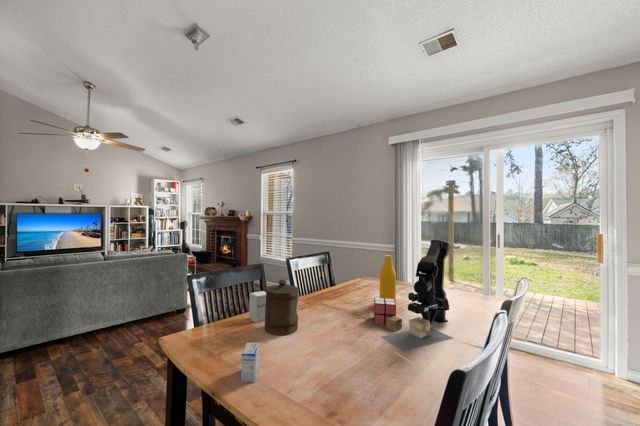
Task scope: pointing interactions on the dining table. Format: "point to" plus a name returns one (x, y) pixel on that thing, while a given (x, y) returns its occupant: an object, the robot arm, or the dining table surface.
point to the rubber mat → (414, 339)
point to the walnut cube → (394, 323)
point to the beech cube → (419, 327)
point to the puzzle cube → (383, 309)
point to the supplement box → (257, 306)
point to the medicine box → (250, 362)
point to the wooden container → (281, 309)
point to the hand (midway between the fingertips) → (428, 324)
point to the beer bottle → (388, 279)
